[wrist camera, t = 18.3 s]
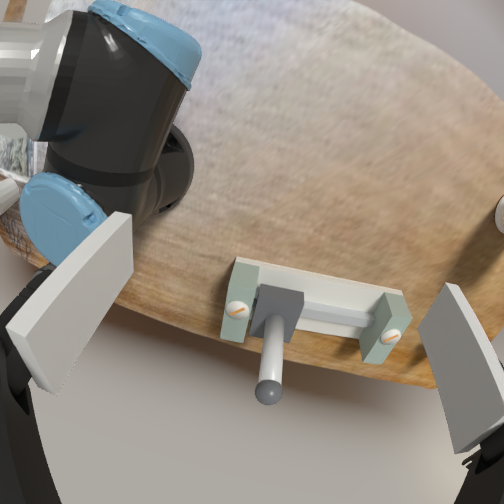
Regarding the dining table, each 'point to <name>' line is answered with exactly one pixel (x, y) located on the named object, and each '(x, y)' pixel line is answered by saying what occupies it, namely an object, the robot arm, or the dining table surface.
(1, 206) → the white cylinder
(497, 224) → the jar
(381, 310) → the rail stand
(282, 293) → the carriage
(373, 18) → the dining table surface
